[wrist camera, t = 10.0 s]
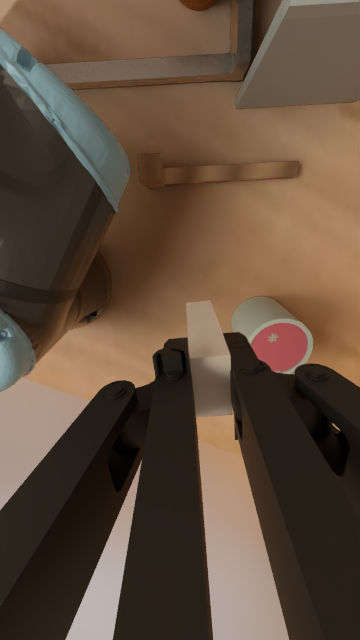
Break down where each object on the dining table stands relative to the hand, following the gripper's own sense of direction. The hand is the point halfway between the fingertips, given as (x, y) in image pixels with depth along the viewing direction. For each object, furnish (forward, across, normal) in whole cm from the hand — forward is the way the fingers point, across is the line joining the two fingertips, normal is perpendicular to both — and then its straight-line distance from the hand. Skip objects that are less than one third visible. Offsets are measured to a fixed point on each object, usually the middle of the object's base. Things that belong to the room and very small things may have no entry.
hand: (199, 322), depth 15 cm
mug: (+26, +11, -14) cm, 32 cm away
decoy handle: (+26, +5, +11) cm, 29 cm away
